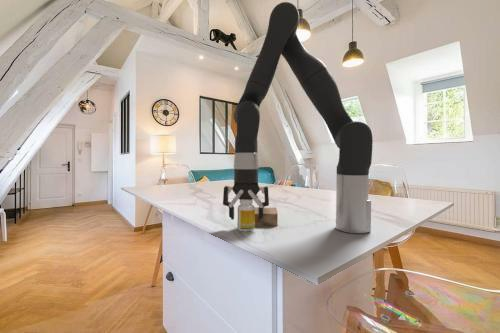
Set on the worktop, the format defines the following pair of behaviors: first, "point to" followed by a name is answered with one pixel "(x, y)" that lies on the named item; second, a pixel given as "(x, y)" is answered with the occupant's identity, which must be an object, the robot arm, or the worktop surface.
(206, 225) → the worktop surface
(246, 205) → the supplement bottle
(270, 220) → the walnut block
